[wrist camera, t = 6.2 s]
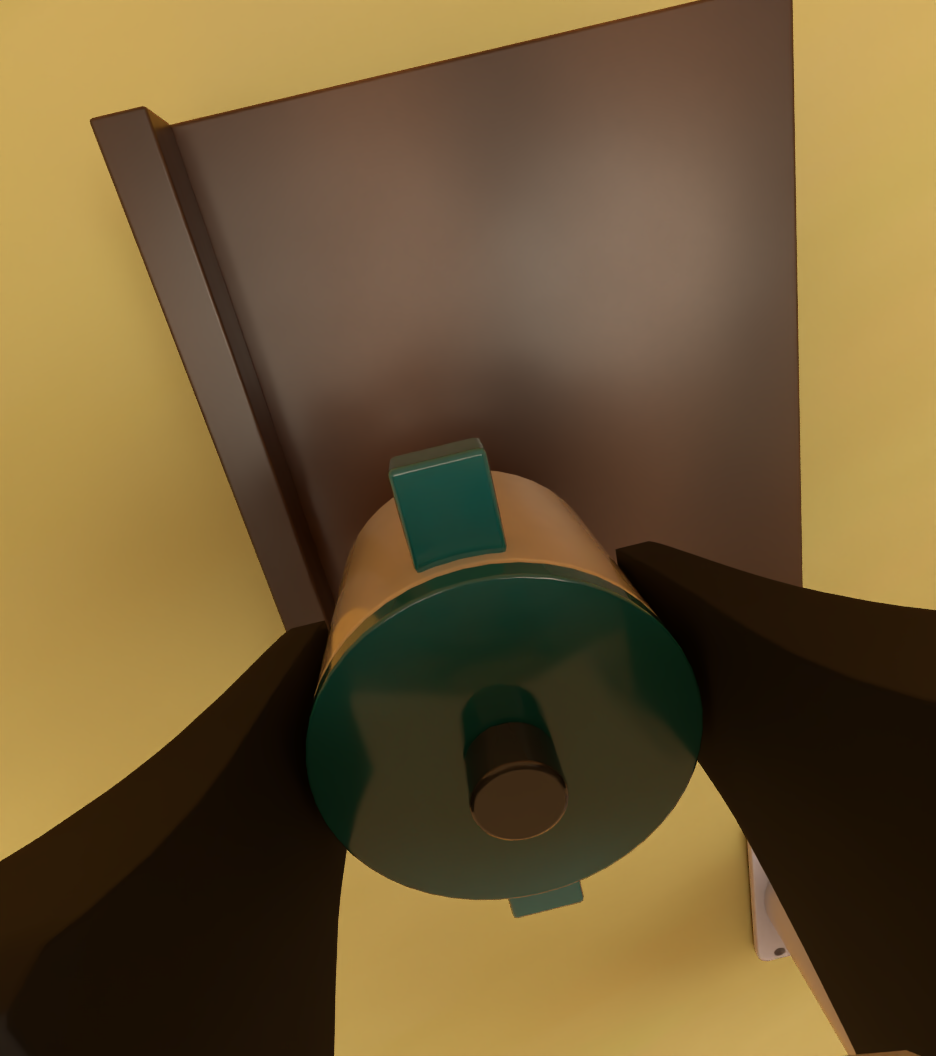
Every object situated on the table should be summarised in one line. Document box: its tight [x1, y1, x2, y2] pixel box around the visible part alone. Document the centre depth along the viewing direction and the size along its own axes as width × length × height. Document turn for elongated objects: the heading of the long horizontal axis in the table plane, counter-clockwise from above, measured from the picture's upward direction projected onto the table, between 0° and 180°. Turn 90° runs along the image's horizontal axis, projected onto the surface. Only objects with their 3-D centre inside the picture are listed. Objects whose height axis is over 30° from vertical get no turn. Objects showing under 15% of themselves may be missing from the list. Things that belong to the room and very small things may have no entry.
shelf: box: [90, 0, 802, 632], centre depth 16 cm, size 13×18×6 cm
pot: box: [305, 438, 703, 918], centre depth 10 cm, size 5×8×5 cm
